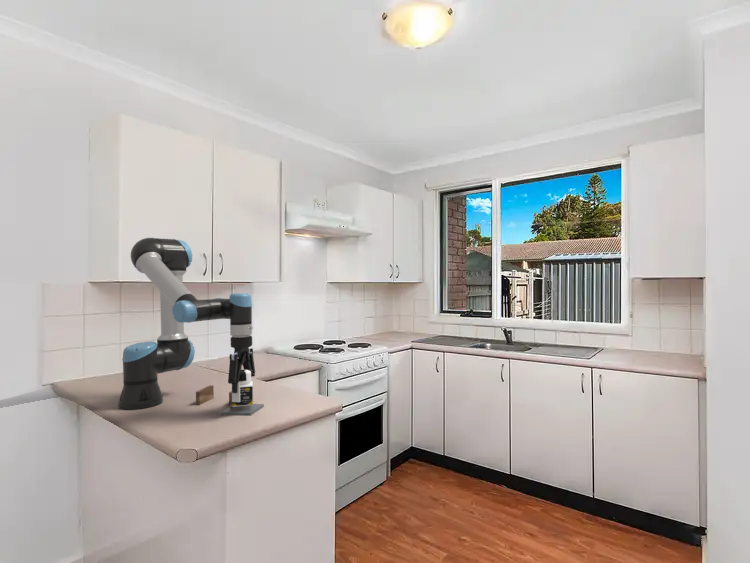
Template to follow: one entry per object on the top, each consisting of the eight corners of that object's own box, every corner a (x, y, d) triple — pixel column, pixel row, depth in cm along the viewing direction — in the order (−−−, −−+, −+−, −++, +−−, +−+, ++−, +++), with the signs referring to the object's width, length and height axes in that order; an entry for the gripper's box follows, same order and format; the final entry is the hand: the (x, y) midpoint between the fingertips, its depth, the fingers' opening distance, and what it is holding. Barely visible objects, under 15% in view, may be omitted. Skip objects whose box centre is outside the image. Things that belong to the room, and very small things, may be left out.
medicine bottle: (232, 407, 154) (231, 373, 154) (233, 401, 161) (232, 369, 161) (253, 405, 156) (252, 371, 156) (253, 400, 163) (252, 367, 163)
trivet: (221, 414, 154) (221, 412, 154) (236, 405, 165) (236, 403, 165) (250, 415, 152) (250, 413, 152) (263, 406, 163) (263, 404, 163)
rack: (196, 404, 167) (195, 391, 167) (210, 397, 177) (209, 385, 177) (233, 405, 164) (232, 392, 164) (245, 398, 174) (245, 386, 174)
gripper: (236, 340, 147) (238, 407, 147) (263, 332, 169) (264, 390, 169) (216, 340, 148) (217, 406, 148) (245, 332, 170) (246, 390, 170)
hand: (242, 398), depth 159 cm, fingers closed on medicine bottle, 9 cm apart
